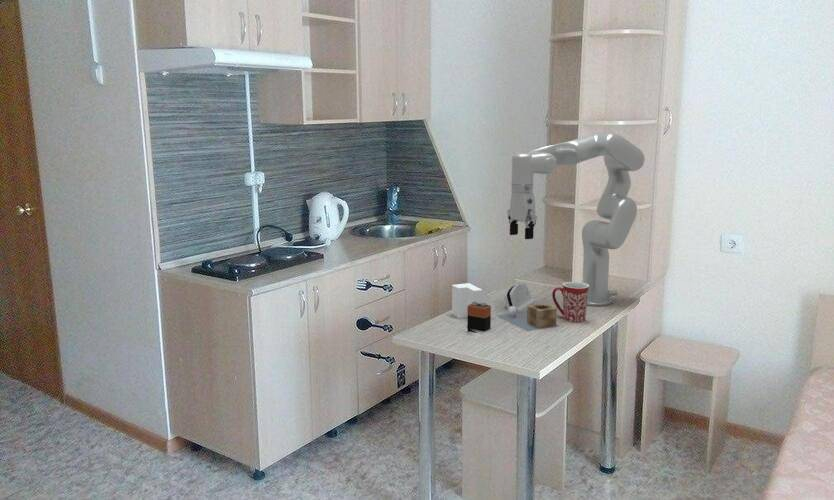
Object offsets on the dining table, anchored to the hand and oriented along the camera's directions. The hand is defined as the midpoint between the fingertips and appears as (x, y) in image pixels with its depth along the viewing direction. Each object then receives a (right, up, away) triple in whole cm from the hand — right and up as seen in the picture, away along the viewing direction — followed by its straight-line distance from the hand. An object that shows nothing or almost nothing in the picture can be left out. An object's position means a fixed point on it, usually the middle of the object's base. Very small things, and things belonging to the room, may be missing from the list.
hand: (521, 236), depth 241 cm
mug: (+16, -30, -5) cm, 34 cm away
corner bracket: (-17, -30, -1) cm, 34 cm away
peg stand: (+1, -30, -7) cm, 31 cm away
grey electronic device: (+1, -27, +12) cm, 30 cm away
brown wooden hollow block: (+5, -30, -12) cm, 33 cm away
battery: (-17, -32, -15) cm, 39 cm away
